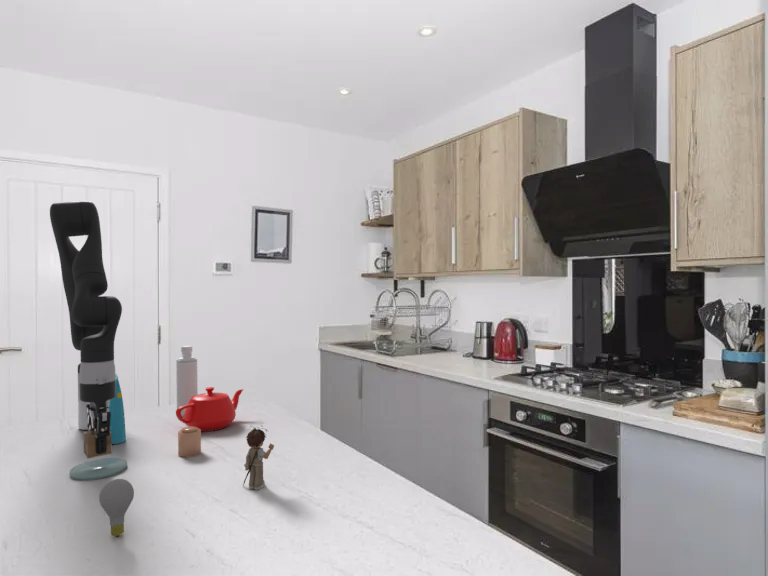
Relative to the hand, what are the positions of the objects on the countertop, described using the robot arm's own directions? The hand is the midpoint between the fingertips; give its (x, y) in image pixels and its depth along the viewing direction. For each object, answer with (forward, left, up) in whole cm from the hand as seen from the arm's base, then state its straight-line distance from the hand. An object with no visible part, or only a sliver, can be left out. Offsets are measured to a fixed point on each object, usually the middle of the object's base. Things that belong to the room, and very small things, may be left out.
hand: (98, 450), depth 123 cm
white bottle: (-39, +35, -5) cm, 53 cm away
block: (0, 0, -1) cm, 1 cm away
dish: (0, 0, -5) cm, 5 cm away
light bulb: (+38, -5, -5) cm, 39 cm away
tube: (-22, +9, -5) cm, 24 cm away
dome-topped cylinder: (+2, +21, -5) cm, 22 cm away
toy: (+34, +24, -5) cm, 42 cm away
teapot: (-20, +36, -5) cm, 42 cm away
